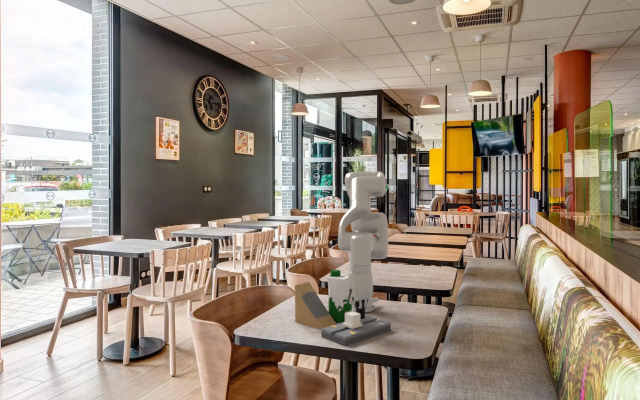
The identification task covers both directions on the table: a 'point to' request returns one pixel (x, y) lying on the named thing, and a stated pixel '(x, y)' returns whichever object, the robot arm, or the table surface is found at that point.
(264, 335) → the table surface
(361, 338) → the fader console
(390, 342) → the table surface
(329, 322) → the sandwich container
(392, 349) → the table surface
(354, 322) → the fader knob
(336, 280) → the milk carton
